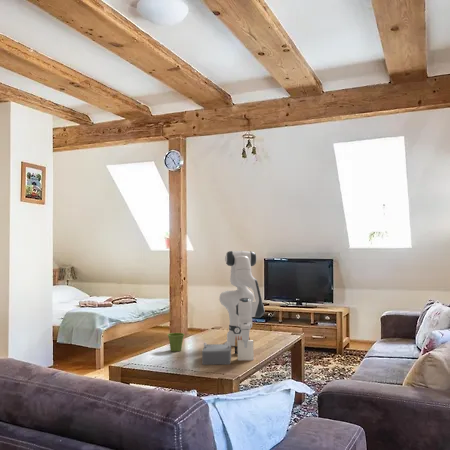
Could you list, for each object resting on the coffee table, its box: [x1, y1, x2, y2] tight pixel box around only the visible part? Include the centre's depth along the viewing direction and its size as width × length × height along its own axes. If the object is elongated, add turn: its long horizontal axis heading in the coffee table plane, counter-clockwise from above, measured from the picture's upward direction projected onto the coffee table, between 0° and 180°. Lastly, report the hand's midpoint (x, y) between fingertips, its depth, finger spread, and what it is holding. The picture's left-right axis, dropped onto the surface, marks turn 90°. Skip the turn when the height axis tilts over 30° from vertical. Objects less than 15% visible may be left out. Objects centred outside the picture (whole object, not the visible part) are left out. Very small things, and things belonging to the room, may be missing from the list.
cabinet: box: [201, 342, 232, 365], centre depth 320 cm, size 21×17×11 cm
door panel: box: [237, 339, 255, 361], centre depth 322 cm, size 3×10×12 cm, turn 88°
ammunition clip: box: [234, 336, 251, 355], centre depth 338 cm, size 11×2×12 cm, turn 73°
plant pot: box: [167, 332, 185, 352], centre depth 351 cm, size 12×12×11 cm
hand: (245, 346), depth 321 cm, fingers open, 8 cm apart
